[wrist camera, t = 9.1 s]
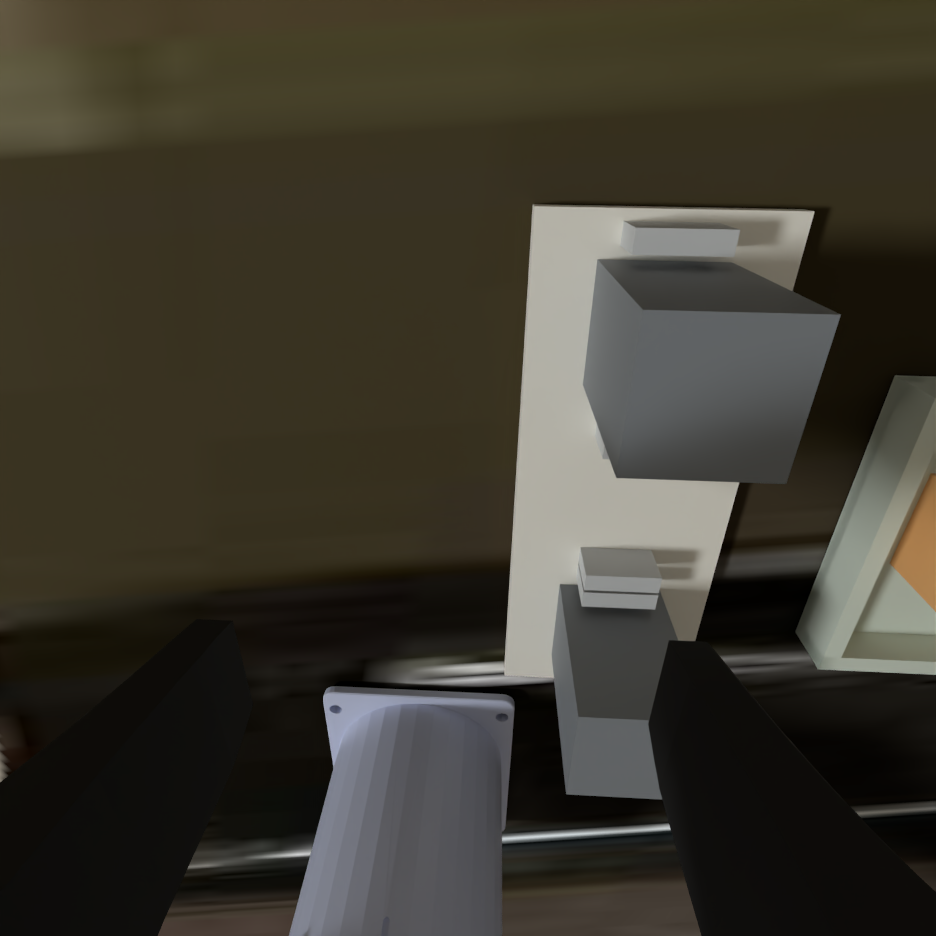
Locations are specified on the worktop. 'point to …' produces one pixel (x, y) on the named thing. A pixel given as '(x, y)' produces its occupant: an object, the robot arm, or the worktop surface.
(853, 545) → the tray
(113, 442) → the worktop surface
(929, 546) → the block
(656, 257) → the panel
